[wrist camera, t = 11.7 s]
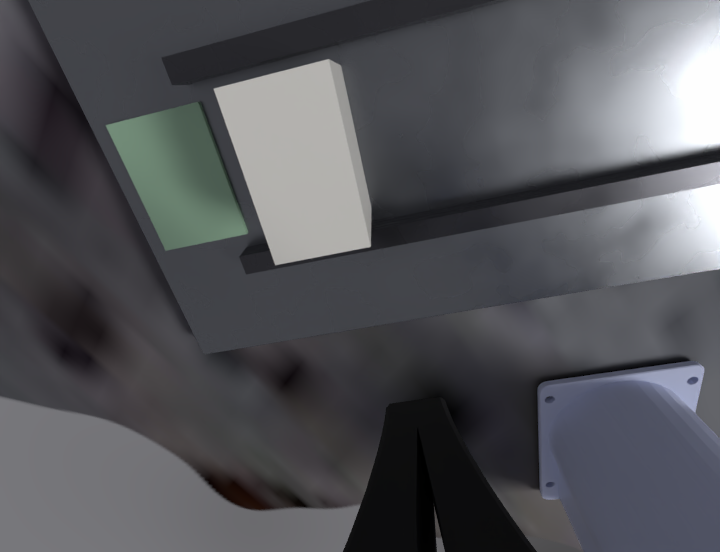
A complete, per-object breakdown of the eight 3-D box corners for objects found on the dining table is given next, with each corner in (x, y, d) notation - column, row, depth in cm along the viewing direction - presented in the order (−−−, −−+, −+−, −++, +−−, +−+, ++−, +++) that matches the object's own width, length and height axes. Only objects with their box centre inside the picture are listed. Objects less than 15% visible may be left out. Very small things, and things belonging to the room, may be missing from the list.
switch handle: (371, 207, 15) (370, 246, 12) (298, 223, 15) (275, 265, 12) (341, 65, 13) (328, 58, 9) (256, 86, 13) (213, 88, 10)
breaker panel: (821, 231, 17) (891, 255, 14) (214, 336, 20) (195, 368, 18) (1013, -360, 10) (1206, -494, 7) (37, -44, 13) (-32, -70, 11)
